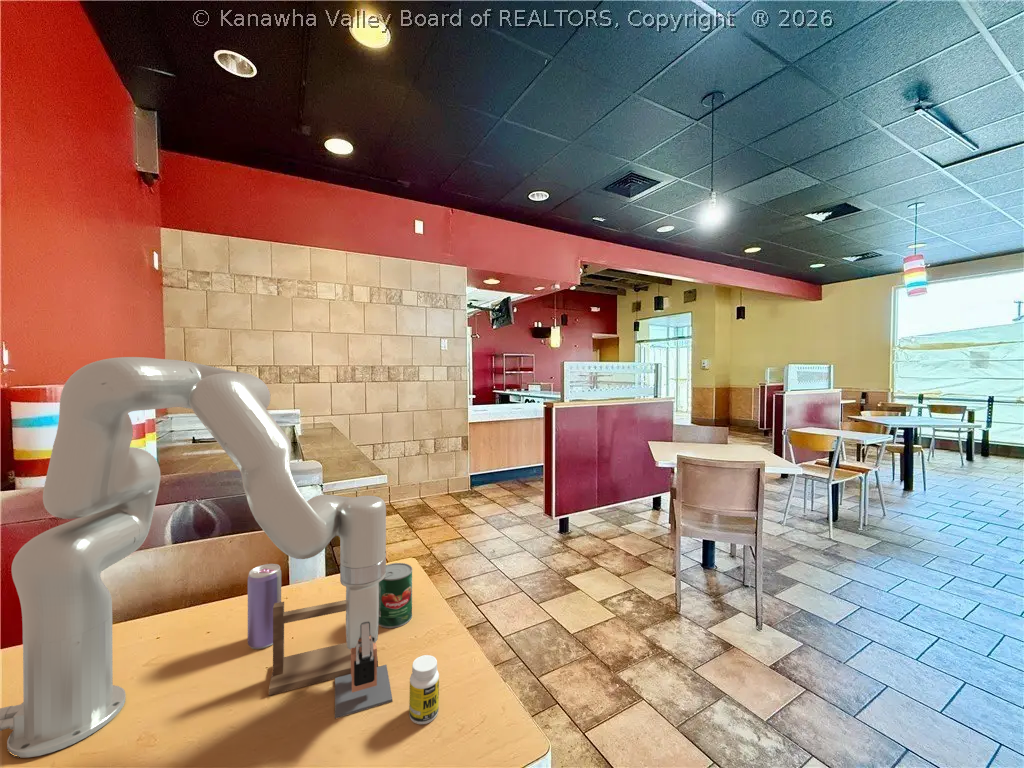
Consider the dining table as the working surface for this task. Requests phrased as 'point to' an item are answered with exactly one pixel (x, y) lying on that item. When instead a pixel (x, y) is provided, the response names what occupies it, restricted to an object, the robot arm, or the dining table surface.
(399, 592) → the canned tomato
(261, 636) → the beverage can
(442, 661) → the dining table surface
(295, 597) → the dining table surface
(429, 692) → the supplement bottle
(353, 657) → the c link
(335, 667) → the stand
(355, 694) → the mat
